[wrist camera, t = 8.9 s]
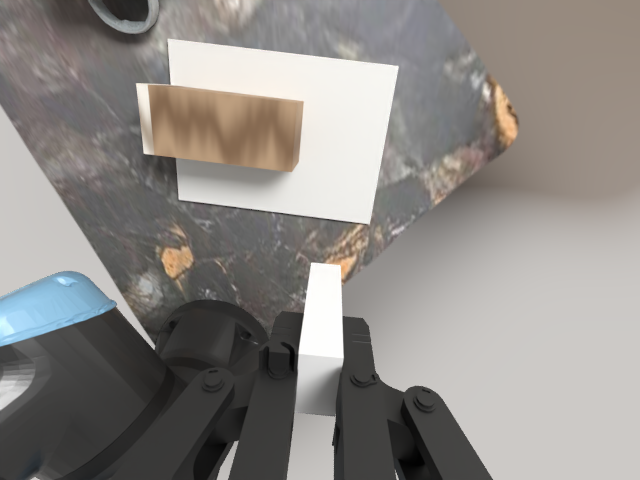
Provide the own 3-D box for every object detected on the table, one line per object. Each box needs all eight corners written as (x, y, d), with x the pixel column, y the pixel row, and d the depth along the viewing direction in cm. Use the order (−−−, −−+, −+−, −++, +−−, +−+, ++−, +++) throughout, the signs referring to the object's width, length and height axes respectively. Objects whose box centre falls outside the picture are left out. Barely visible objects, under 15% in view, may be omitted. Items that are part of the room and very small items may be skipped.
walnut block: (291, 172, 31) (143, 153, 31) (298, 161, 35) (169, 145, 36) (297, 102, 28) (136, 83, 29) (303, 101, 33) (164, 84, 33)
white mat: (369, 222, 38) (369, 224, 38) (180, 198, 39) (178, 199, 38) (398, 66, 31) (398, 66, 31) (169, 39, 32) (167, 38, 32)
